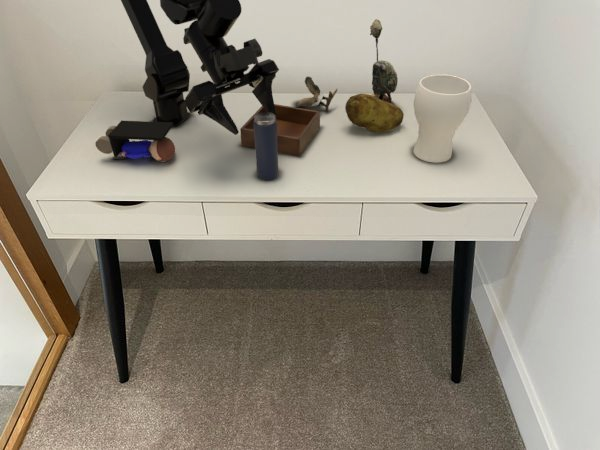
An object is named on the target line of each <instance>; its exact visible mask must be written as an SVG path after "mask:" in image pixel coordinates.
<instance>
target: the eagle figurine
mask: <svg viewBox="0 0 600 450" xmlns="http://www.w3.org/2000/svg"><path fill="white" fill-rule="evenodd" d="M304 84H305V86H306V88H307V89H308V92H309V93H311V94H312V95H313V96H311V97H304V98H301V99H300V100H299V101H296V102H295V103H294V107H296V108H300V107H307V108H308V107H309V108H310V107H312V106H313V105H314V104H316V106H318V105H321V106H322V107H324V109H325V111H326V112H327V113H328V111H329V106H330V104H331V102H332V100H334V99H333V98H334V97H335V95H336V94H337V93H338V88H336V89H335V90H334V92H332V90H331V91H329V92H328V96H324V92H322V93H321V89H320V87H319V85H318V84H316V83H315V82H314V80H313V78H312V77H311V76H306V77H305V79H304ZM322 100H326V103H324V102H323V101H322Z"/></svg>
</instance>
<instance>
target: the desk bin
mask: <svg viewBox="0 0 600 450" xmlns="http://www.w3.org/2000/svg"><path fill="white" fill-rule="evenodd" d="M274 106H275V111H276V117H275V119H276V120H277V145H278V154H283V155H284V154H285V155H289V156H293V157H294V156H295V157H301V156H302V154H303V153H304V152H305V150H306V149H307V147H308V145H309V144H310V143H311V141H312V140H313V139H314V137H315V135H316V134H317V133H318V132H319V130H320V128H321V110H320V111H319V110H315V109H308V108H301V107H296V106H288V105H282V104H277V103H274ZM261 112H267V111H266V110H265V109H264V107H263V106H262V105H261V106H260V107H259V108H258V109H257V110H256V111H255V113H253V115H252V116H251V117H250V118H249V119H248V120H247V121H246V122H245V123H244V124H243V125H242V126H241V127H240V129H239V130H240V131H239V133H240V143H241V146H242V147H246V148H253V149H255V138H254V123H253V121H254V116H255V115H256V114H258V113H261Z"/></svg>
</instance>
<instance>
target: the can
mask: <svg viewBox="0 0 600 450" xmlns="http://www.w3.org/2000/svg"><path fill="white" fill-rule="evenodd" d="M253 123H254V138H255V148H254V150H255V151H254V152H255V166H256V167H255V168H256V177H257V178H258V179H259V180H261V181H268V182H269V181H273V180H275V179H277V178H278V177H279V174H280V173H279V155H278V154H279V153H278V145H277V120H276V119H275V115H274V114H273V113H269V112H261V113H258V114H256V115H255V116H254V121H253Z"/></svg>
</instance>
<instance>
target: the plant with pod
mask: <svg viewBox="0 0 600 450" xmlns="http://www.w3.org/2000/svg"><path fill="white" fill-rule="evenodd" d="M369 29H370V34H369V35H370V36H372V37H373V38H375V47H376V61H375V62H374V63H373V64H372V73H371V75H372V76H371V77H372V80H371V86H372V88H371V89H372V91H373V93H371V95H372V96H374V97H376V98H378V99H380V100H383V101H385V102H388V103H391V104H393V105H396V106H397V107H398V105H397V104H396V103H395V102H394V100H393V99H392V95H391V94H392V93H395V92H396V89H397V88H398V87H397V86H398V73H397V72H396V70H395V67H394V66H393V64H392V63H390V62H389V61H387V60H379V49H378V45H379V44H378V43H379V38H380V36H381V34H382V31H383V26H382V23H381V21H380V20H379V19H377V18H376V19H374V20H373V22H372V24H371V25H370V26H369Z"/></svg>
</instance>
